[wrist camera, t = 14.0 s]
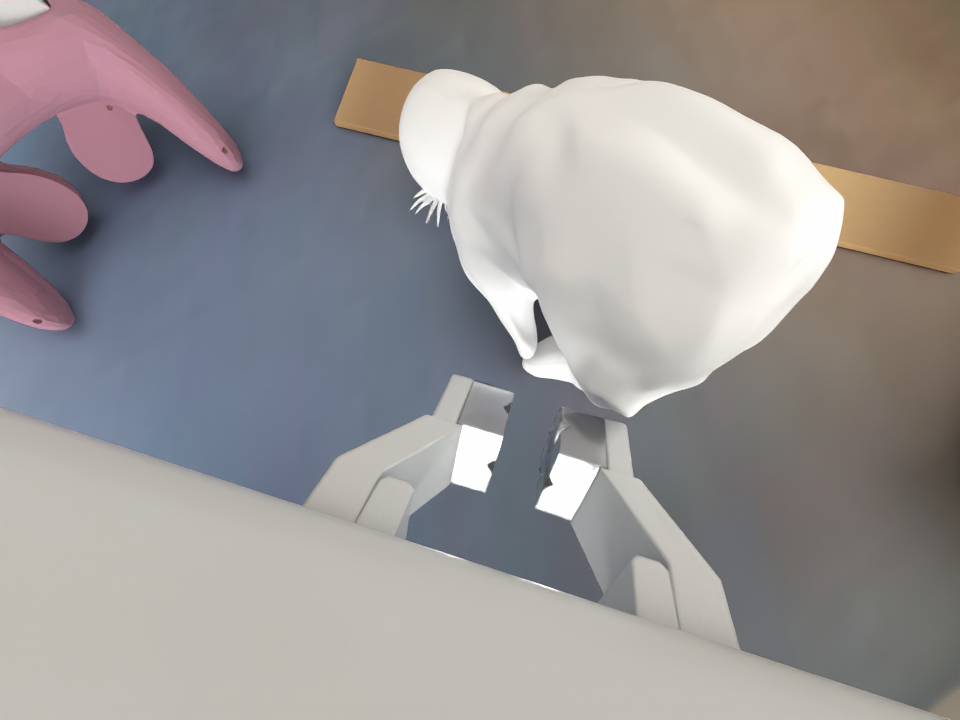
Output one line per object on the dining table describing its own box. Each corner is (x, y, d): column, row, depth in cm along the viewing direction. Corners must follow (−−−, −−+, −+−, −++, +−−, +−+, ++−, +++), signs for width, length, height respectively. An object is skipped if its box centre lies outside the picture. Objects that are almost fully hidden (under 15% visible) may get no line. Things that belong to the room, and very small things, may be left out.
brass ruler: (336, 126, 16) (333, 120, 16) (359, 63, 17) (357, 57, 16) (952, 274, 15) (962, 270, 15) (957, 201, 15) (967, 197, 15)
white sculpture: (715, 433, 5) (244, -27, 8) (589, 451, 14) (378, 221, 16) (1010, 149, 6) (483, -184, 9) (720, 331, 14) (496, 130, 17)
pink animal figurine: (225, 137, 18) (22, -75, 12) (263, 161, 15) (29, -92, 10) (47, 298, 17) (-272, 148, 11) (57, 353, 14) (-353, 196, 8)
